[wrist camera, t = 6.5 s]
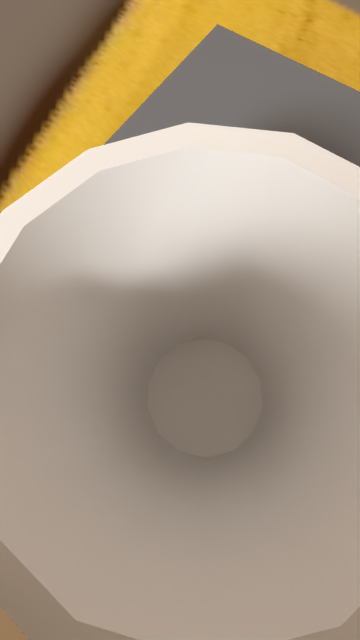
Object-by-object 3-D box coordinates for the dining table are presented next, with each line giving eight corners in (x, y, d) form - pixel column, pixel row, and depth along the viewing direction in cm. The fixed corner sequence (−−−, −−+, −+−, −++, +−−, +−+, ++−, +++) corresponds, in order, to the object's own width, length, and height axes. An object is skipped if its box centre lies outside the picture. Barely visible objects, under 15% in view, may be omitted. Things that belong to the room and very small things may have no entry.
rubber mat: (445, 146, 22) (453, 136, 21) (328, 314, 20) (333, 310, 19) (217, 35, 26) (217, 24, 25) (96, 164, 23) (92, 156, 23)
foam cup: (120, 314, 20) (-29, 139, 7) (283, 307, 19) (425, 103, 7) (115, 494, 17) (-130, 704, 5) (303, 493, 17) (599, 735, 4)
